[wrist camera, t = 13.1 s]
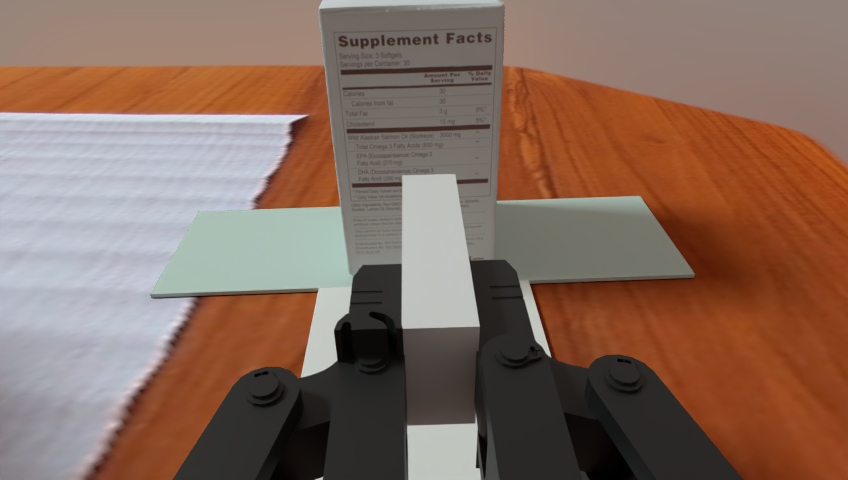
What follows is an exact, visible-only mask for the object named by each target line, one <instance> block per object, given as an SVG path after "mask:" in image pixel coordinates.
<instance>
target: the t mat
mask: <svg viewBox="0 0 848 480" xmlns="http://www.w3.org/2000/svg"><path fill="white" fill-rule="evenodd" d="M495 260H506V261H507V262H508V263H509V264H510V265H511V266H512V267H513V268H514V269H515V270H516V271H517V275H518V278H519V282H520V288H521V289H522V293H523V299H524V300H525V304H526V308H527V311H528V315H529V319H530V322H531V326H532V330H533V334H534V337H535V340H536V342H537V343H538V344H540V345H541V346H542V347H543V349H544V351H545V352H546V354H547V355H548V356H550V357H551V354H550V351H549V348H548V344H547V341H546V337H545V334H544V331H543V327H542V324H541V321H540V317H539V314H538V311H537V307H536V304H535V300H534V297H533V294H532V290H531V287H530V284H535V283H562V282H589V281H616V280H644V279H671V278H694V277H695V273H694V272H693V270H692V269H691V268H690V266H689V265H688V263H687V262H686V260H685V259H684V258H683V256H682V255H681V253H680V252H679V251H678V249H677V248H676V246H675V245H674V243H673V242H672V241H671V239H670V238H669V236H668V235H667V234H666V232H665V231H664V229H663V228H662V226H661V225H660V224H659V222H658V221H657V219H656V218H655V217H654V215H653V214H652V212H651V211H650V210H649V208H648V207H647V205H646V204H645V202H644V201H643V200H642V198H641V197H640V196H627V197H599V198H570V199H542V200H514V201H497V203H496V234H495ZM353 277H354V275H351V274H349V272H348V265H347V255H346V248H345V240H344V231H343V223H342V216H341V207H315V208H287V209H258V210H230V211H202V212H198V213H197V215H196V217H195V219H194V220H193V222H192V224H191V225H190V227H189V229H188V230H187V232H186V234H185V236H184V237H183V239H182V241H181V242H180V244H179V246H178V247H177V249H176V251H175V253H174V254H173V256H172V258H171V259H170V261H169V263H168V264H167V266H166V268H165V270H164V271H163V273H162V275H161V276H160V278H159V280H158V281H157V283H156V285H155V287H154V288H153V290H152V292H151V293H150V296H151V298H153V297H180V296H207V295H235V294H262V293H289V292H316V291H318V295H317V300H316V305H315V310H314V315H313V320H312V325H311V330H310V335H309V340H308V345H307V349H306V354H305V359H304V364H303V369H302V374H301V378H302V377H306V376H309V375H313V374H315V373H318V372H321V371H323V370H325V369H327V368H328V367H330V366H332V365H333V364H334V363H335V362H336V361H337V352H336V344H335V336H334V329H335V326H336V324H337V322H338V321H339V320H340V319H341V318H342V317H343V316H345V315H346V314H348V313H349V306H350V297H351V289H352V281H353ZM477 431H478V426H477V418H476V422H475V424H444V425H413V426H407V437H408V480H481V475H480V468H476V452H477ZM315 480H323V477H321V478H318V479H315Z"/></svg>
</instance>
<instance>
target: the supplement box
mask: <svg viewBox="0 0 848 480" xmlns="http://www.w3.org/2000/svg"><path fill="white" fill-rule="evenodd" d="M504 9H505V8H504V3H503V2H502V0H323V1H322V2H321V4H320V7H319V8H318V14H319V22H320V31H321V40H322V47H323V57H324V66H325V75H326V84H327V93H328V102H329V112H330V121H331V131H332V140H333V149H334V157H335V166H336V174H337V182H338V191H339V199H340V207H341V216H342V223H343V231H344V240H345V248H346V255H347V265H348V272H349V274H351V275H355V274H356V273H357V272H358V270H359V269H360V268H361V267H362V265H377V264H402V175H435V174H455V176H456V182H457V188H458V194H459V200H460V207H461V213H462V219H463V225H464V231H465V238H466V244H467V250H468V256H469V261H470V260H495V234H496V203H497V182H498V162H499V140H500V118H501V98H502V78H503V52H504Z"/></svg>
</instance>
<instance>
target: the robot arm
mask: <svg viewBox="0 0 848 480" xmlns="http://www.w3.org/2000/svg"><path fill="white" fill-rule="evenodd" d="M334 336H335V344H336V352H337V361H336V362H335V363H334V364H333V365H332V366H330V367H328V368H327V369H325V370H323V371H321V372H318V373H315V374H313V375H309V376H306V377H302V378H297V377H296V376H295V375H294V374H293V373H292V372H291V371H290V370H287V369H284V368H280V367H264V368H261V369H257V370H253V371H251V372H250V373H248V374H246V375H244V376H243V377H241V378H240V379H239V380H238V381H237V382H236V383H235V384H234V385H233V387H232V388H231V390H230V391H229V393H228V394H227V396H226V397H225V399H224V401H223V402H222V404H221V405H220V407H219V408H218V410H217V411H216V413H215V415H214V416H213V418H212V419H211V421H210V422H209V424H208V425H207V427H206V429H205V430H204V432H203V433H202V435H201V436H200V438H199V439H198V441H197V443H196V444H195V446H194V447H193V449H192V450H191V452H190V453H189V455H188V457H187V458H186V460H185V461H184V463H183V464H182V466H181V467H180V469H179V470H178V472H177V474H176V475H175V477H174V478H173V480H315V479H318V478H321V477H323V480H408V437H407V426H413V425H444V424H475V422H476V418H477V426H478V431H477V452H476V468H480V475H481V480H743V479H742V478H741V476H740V475H739V474H738V473H737V472H736V470H735V469H734V468H733V467H732V465H731V464H730V463H729V462H728V461H727V459H726V458H725V457H724V456H723V455H722V453H721V452H720V451H719V450H718V449H717V447H716V446H715V445H714V444H713V442H712V441H711V440H710V439H709V438H708V436H707V435H706V434H705V433H704V432H703V430H702V429H701V428H700V427H699V426H698V424H697V423H696V422H695V421H694V419H693V418H692V417H691V416H690V415H689V413H688V412H687V411H686V410H685V409H684V407H683V406H682V405H681V404H680V403H679V401H678V400H677V399H676V398H675V396H674V395H673V394H672V393H671V392H670V390H669V389H668V388H667V387H666V386H665V384H664V383H663V382H662V381H661V380H660V378H659V377H658V376H657V375H656V374H655V372H654V371H653V370H651V369H650V368H649V367H648V366H647V365H646V364H645V363H643V362H641V361H639V360H636V359H634V358H632V357H628V356H623V355H605V356H603V357H600V358H598V359H595V361H594V362H593V363H592V364H591V365H590V366H589V369H587V368H583V367H578V366H573V365H569V364H566V363H562V362H559V361H557V360H555V359H553V358H551V357H550V356H548V355H547V354H546V352H545V351H544V349H543V347H542V346H541V345H540V344H538V343H537V342H536V340H535V337H534V334H533V330H532V326H531V322H530V319H529V315H528V311H527V308H526V304H525V300H524V299H523V293H522V289H521V288H520V282H519V278H518V275H517V271H516V270H515V269H514V268H513V267H512V266H511V265H510V264H509V263H508V262H507V261H506V260H470V261H469V256H468V250H467V244H466V238H465V231H464V225H463V219H462V213H461V207H460V200H459V194H458V188H457V182H456V176H455V174H435V175H402V264H377V265H362V267H361V268H360V269H359V270H358V272H357V273H356V274H355V275H354V277H353V281H352V289H351V297H350V306H349V313H348V314H346V315H345V316H343V317H342V318H341V319H340V320H339V321H338V322H337V324H336V326H335V329H334Z"/></svg>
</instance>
